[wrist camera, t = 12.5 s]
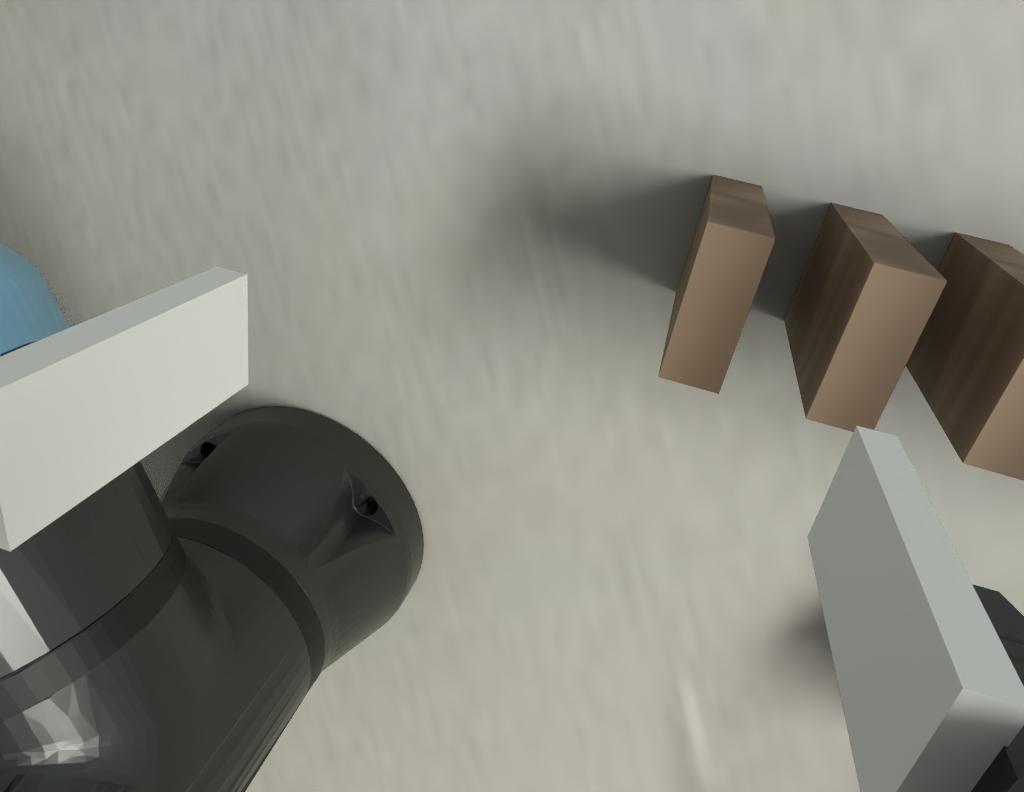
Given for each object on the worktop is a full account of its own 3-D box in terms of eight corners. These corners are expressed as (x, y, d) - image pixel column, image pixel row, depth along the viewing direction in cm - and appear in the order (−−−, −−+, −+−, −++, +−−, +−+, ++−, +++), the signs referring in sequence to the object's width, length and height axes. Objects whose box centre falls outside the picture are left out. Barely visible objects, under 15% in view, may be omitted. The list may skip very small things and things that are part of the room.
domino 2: (784, 321, 31) (806, 418, 23) (831, 202, 29) (874, 262, 20) (831, 333, 31) (869, 436, 23) (882, 214, 28) (947, 280, 20)
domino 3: (897, 351, 30) (962, 463, 22) (955, 232, 28) (1053, 307, 20) (946, 364, 30) (1031, 482, 22) (1009, 245, 28) (1131, 326, 19)
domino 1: (676, 292, 32) (658, 376, 24) (712, 174, 30) (707, 222, 21) (720, 304, 32) (718, 393, 23) (761, 186, 29) (775, 238, 21)
